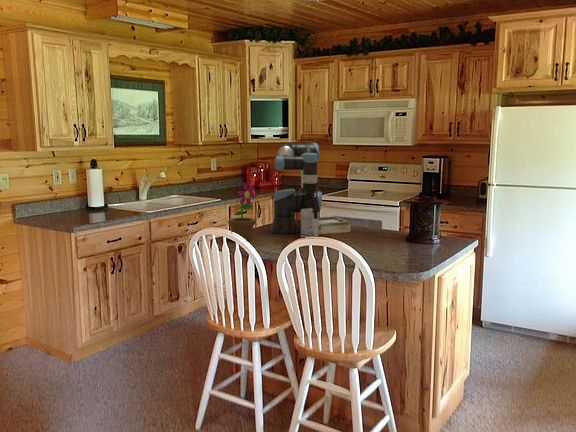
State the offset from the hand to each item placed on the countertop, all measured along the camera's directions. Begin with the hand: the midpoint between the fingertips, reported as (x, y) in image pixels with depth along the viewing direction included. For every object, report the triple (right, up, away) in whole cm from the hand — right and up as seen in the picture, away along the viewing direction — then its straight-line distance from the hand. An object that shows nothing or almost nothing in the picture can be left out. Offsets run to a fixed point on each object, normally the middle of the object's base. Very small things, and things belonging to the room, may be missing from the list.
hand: (309, 223), depth 286 cm
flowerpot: (-35, -9, -4) cm, 36 cm away
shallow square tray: (+10, -4, +21) cm, 24 cm away
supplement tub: (0, -8, +2) cm, 8 cm away
